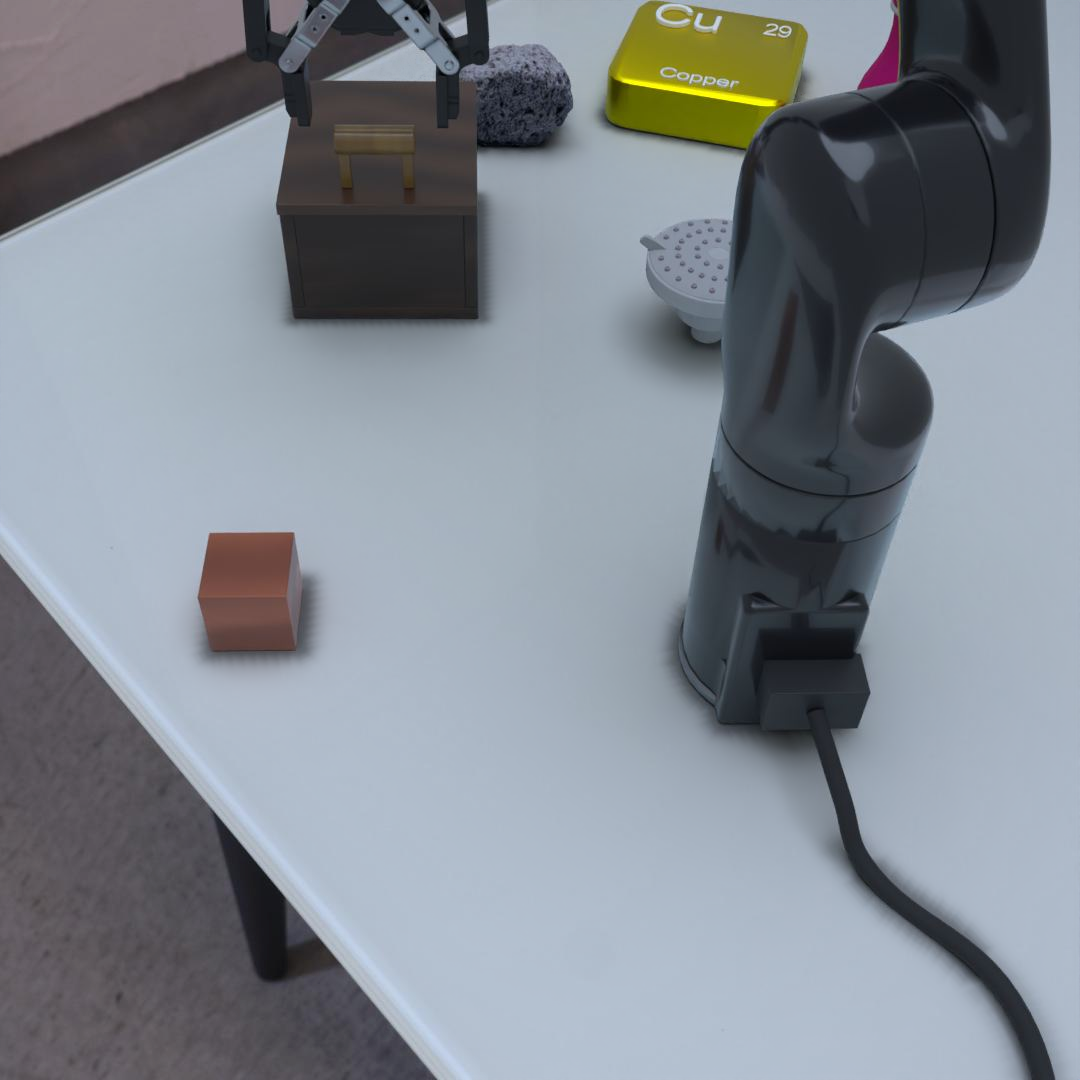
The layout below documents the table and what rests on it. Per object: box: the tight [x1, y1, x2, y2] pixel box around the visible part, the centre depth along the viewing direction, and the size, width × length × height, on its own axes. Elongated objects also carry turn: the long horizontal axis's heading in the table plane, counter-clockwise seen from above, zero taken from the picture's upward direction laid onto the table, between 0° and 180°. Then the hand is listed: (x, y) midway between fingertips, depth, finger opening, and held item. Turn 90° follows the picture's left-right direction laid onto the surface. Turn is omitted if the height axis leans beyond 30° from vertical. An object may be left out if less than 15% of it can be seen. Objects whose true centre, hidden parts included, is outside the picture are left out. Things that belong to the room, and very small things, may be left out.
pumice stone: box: [459, 43, 574, 148], centre depth 106 cm, size 10×8×10 cm
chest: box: [279, 214, 479, 319], centre depth 93 cm, size 15×13×9 cm
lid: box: [275, 79, 478, 216], centre depth 87 cm, size 16×13×5 cm
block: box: [197, 531, 304, 652], centre depth 72 cm, size 5×5×5 cm
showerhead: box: [639, 218, 733, 344], centre depth 89 cm, size 9×7×10 cm
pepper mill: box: [856, 0, 899, 90], centre depth 100 cm, size 7×7×20 cm
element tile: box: [604, 0, 809, 150], centre depth 111 cm, size 15×15×5 cm
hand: (375, 121), depth 82 cm, fingers open, 8 cm apart
